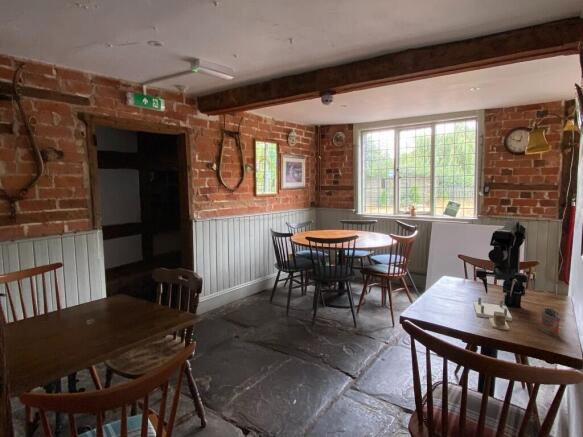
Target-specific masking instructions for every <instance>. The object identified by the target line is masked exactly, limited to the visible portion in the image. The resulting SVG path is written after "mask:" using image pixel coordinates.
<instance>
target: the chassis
mask: <svg viewBox="0 0 583 437" xmlns="http://www.w3.org/2000/svg"><path fill="white" fill-rule="evenodd" d="M503 304H504V299H503V300H502V299H499V304H493V303H486V302H485V303H484V302H482V297H478V300H477V301H473V308H474V312H475V315H476V317H481V318H487V319H490V318H493V319H494V311H496V312H503V313H504V315H505V316H506V317H505V321H509V322H513V317H512V315H511V313H510V311H509V309H508V306H506V305H503Z"/></svg>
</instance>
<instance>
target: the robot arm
mask: <svg viewBox="0 0 583 437" xmlns="http://www.w3.org/2000/svg"><path fill="white" fill-rule="evenodd" d="M527 233H528V232H527V229H526V227H525V226H523V225H522V224H521V222H520V221H517V220H515V221H514V220H508V221H507V222H506V224H505V225H504V226H503V227H502V228H496V229H495V230H494V231H493V232H492V235H491V239H490V243H489V246H491V247H493V248H492V249H491V250H490V251H489V252H488V254H487V256H488V259H489V261H491V262H492V263H493V264H492V265H493V268H492V271H487V269H484V268H475V272H474V275H475V278H478V279H479V280H481V281H482V283H483V286H484V291H485V293H486V295H487V294H488V279H487V277H493V278H495V280H497V281H503V282H502V293H503V294H504V295H503V304H504V306H506V307H507V308H508V307H509V308H510V307H511V308H517V309H518V308H519V309H522V305H521V304H522V302H521V301H522V297H523V296H526V287H525V284H526V283H528V276H527V275H526V273H524V272H520V267H521V266H520V263H521V259H520V258H521V247H522V245H523V244H524V242H525V241H526V239H527ZM524 283H525V284H524Z"/></svg>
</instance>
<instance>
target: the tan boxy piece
mask: <svg viewBox="0 0 583 437" xmlns="http://www.w3.org/2000/svg"><path fill="white" fill-rule="evenodd" d="M505 317H506V316H505V315H504V313H503V312H496V311H494V318H488V319H489V321H490V324H491V327H492V329H499V330H505V331H506V330H507V331H509V330H510V327H509V325H508V323H507V320H505Z"/></svg>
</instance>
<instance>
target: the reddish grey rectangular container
mask: <svg viewBox="0 0 583 437" xmlns="http://www.w3.org/2000/svg"><path fill="white" fill-rule="evenodd" d="M559 313H560V312H559V311H558V310H555V309H554V308H552V307H548V306H544V310H541V311H540V314H541V317H540V318H541V319H540V326H539V329H540V330H541V331H543V332H544V333H545V334H547V335H549V336H550V335H551V337H552V336H553V337H559V327H560V321H561V317H560V316H559Z"/></svg>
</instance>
